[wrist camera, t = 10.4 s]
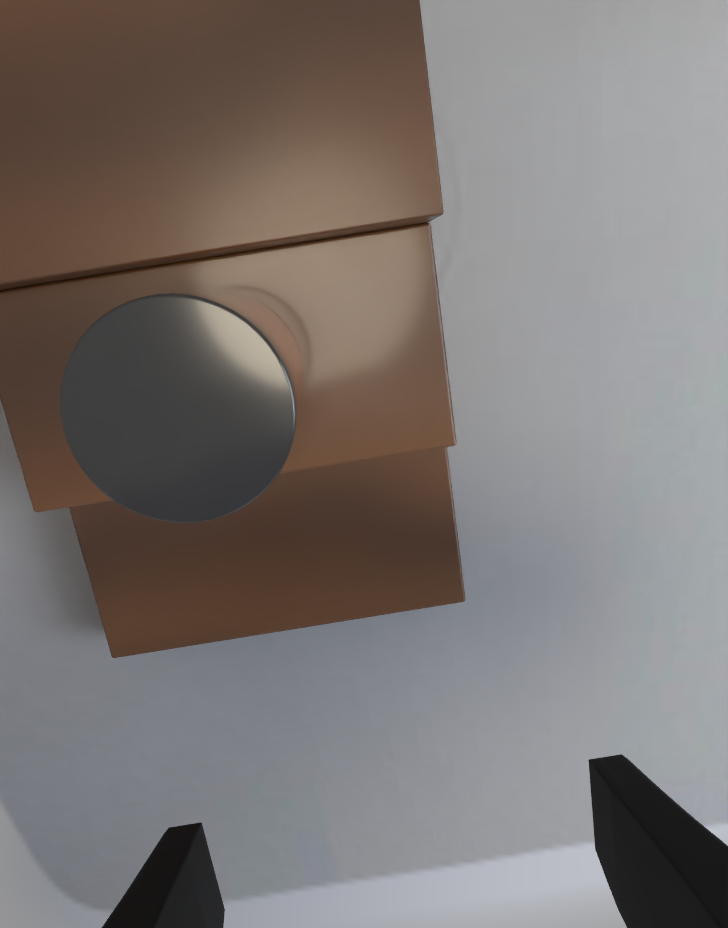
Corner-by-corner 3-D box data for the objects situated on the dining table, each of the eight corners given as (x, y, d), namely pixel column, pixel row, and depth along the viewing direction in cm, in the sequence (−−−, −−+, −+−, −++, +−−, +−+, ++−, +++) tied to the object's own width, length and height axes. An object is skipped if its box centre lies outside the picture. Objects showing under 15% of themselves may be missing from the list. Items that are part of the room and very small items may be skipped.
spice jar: (133, 444, 17) (55, 509, 12) (143, 276, 16) (62, 276, 11) (295, 464, 17) (282, 536, 13) (315, 302, 16) (309, 312, 12)
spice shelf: (457, 581, 22) (496, 675, 17) (125, 634, 22) (61, 746, 17) (386, 13, 18) (408, -98, 13) (-29, 78, 18) (-181, -6, 13)
